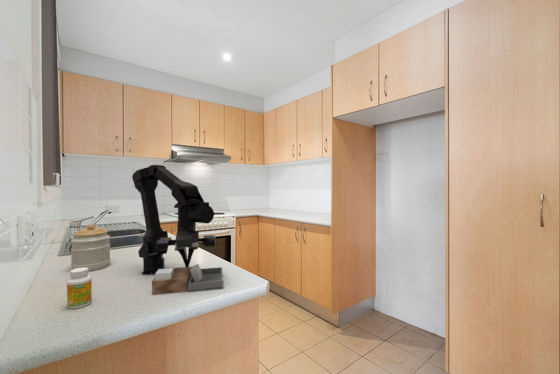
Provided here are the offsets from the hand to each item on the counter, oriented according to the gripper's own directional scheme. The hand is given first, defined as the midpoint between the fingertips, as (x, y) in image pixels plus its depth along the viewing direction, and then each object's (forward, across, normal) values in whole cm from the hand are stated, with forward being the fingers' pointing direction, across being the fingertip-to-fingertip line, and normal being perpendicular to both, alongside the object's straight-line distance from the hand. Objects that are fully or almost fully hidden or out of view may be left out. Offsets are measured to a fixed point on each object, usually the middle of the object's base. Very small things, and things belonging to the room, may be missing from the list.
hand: (187, 267), depth 88 cm
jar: (+5, -40, +26) cm, 48 cm away
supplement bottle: (+5, -27, -11) cm, 30 cm away
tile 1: (+2, +2, -1) cm, 3 cm away
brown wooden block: (+5, -4, -3) cm, 7 cm away
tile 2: (+1, -6, -6) cm, 9 cm away
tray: (+5, +6, -2) cm, 8 cm away
